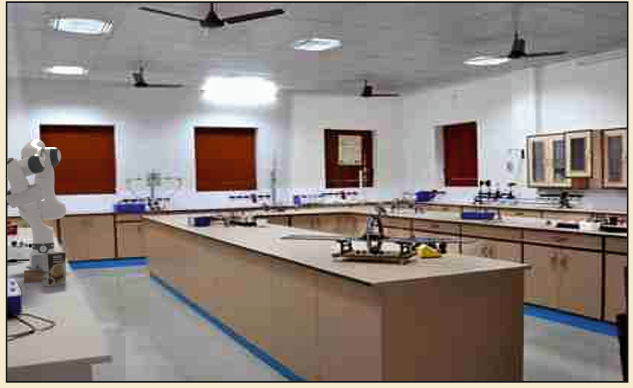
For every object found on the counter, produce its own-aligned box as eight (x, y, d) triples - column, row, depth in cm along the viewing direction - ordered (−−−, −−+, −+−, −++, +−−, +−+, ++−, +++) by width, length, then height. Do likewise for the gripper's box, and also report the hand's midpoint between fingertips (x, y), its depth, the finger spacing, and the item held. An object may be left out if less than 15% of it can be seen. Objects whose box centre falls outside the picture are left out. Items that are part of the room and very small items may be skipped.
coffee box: (49, 287, 296) (48, 254, 295) (42, 285, 299) (41, 253, 299) (66, 284, 303) (66, 252, 302) (59, 282, 307) (59, 251, 306)
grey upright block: (31, 275, 330) (31, 255, 330) (43, 274, 332) (42, 254, 332) (31, 276, 325) (31, 256, 325) (43, 275, 327) (42, 255, 327)
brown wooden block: (24, 279, 317) (24, 267, 317) (53, 277, 323) (53, 266, 323) (24, 282, 307) (23, 270, 307) (54, 280, 313) (53, 269, 313)
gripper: (41, 180, 321) (52, 203, 326) (8, 190, 325) (19, 212, 330) (35, 184, 315) (46, 208, 320) (1, 194, 319) (13, 217, 324)
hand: (32, 210), depth 325 cm, fingers open, 8 cm apart
